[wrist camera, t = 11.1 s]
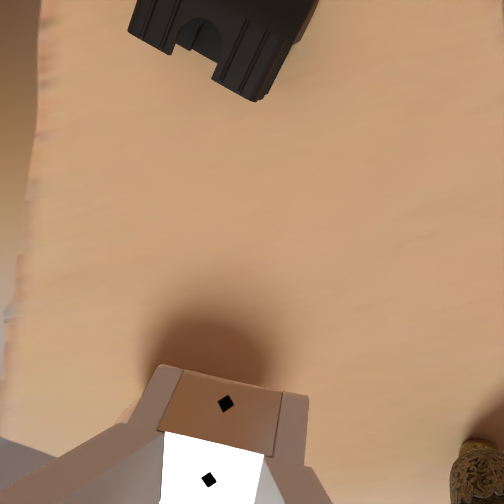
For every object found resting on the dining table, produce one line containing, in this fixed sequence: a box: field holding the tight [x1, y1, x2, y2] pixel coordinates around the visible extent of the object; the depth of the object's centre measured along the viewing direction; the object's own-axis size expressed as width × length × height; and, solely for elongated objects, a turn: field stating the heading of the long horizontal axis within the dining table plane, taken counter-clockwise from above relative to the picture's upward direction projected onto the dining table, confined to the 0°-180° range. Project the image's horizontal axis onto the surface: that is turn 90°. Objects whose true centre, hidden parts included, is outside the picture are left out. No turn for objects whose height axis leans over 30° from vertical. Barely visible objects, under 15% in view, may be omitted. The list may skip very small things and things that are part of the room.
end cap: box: [127, 0, 319, 102], centre depth 30 cm, size 10×7×7 cm
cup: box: [450, 439, 504, 504], centre depth 43 cm, size 8×7×8 cm
